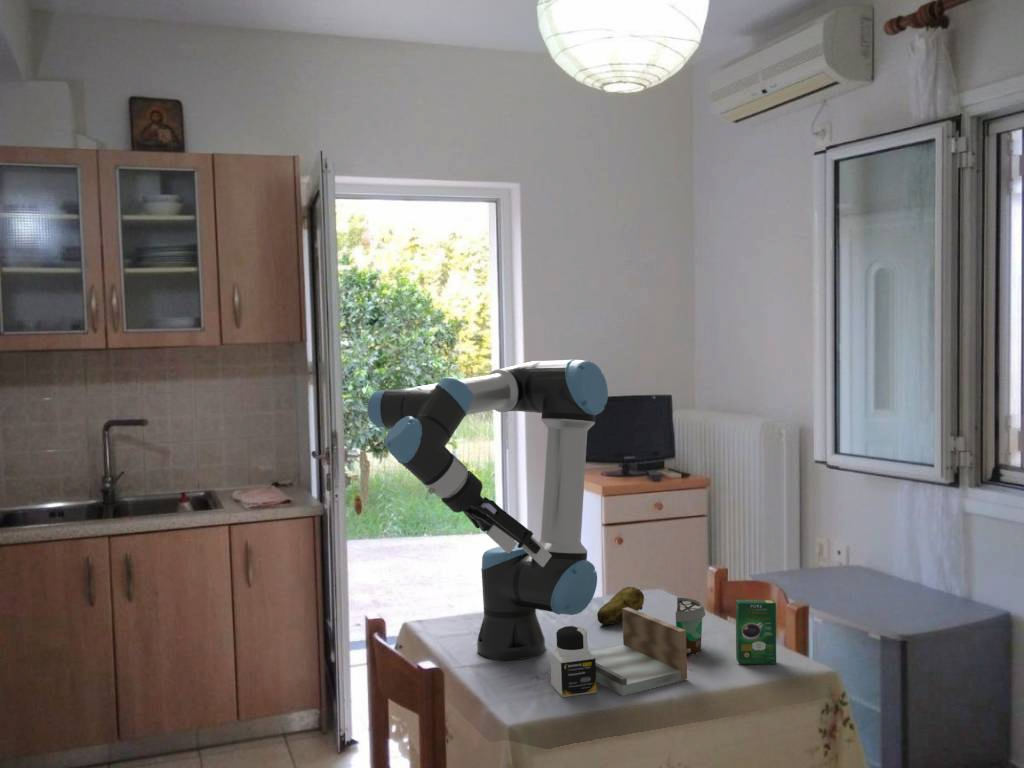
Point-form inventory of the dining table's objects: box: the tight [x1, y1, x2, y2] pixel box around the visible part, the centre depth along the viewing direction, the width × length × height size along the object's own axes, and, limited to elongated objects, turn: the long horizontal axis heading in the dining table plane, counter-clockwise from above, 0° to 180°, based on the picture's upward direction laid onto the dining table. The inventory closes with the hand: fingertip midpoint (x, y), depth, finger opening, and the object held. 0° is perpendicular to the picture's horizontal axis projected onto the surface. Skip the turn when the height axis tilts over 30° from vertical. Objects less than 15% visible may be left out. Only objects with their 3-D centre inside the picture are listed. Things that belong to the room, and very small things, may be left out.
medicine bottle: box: [549, 625, 597, 698], centre depth 184 cm, size 7×7×12 cm
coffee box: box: [735, 599, 777, 665], centre depth 195 cm, size 8×3×13 cm, turn 86°
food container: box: [675, 596, 706, 656], centre depth 205 cm, size 12×6×10 cm, turn 168°
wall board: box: [589, 607, 688, 697], centre depth 192 cm, size 20×16×10 cm
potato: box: [596, 586, 645, 626], centre depth 227 cm, size 8×13×8 cm, turn 105°
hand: (529, 554), depth 180 cm, fingers open, 13 cm apart
